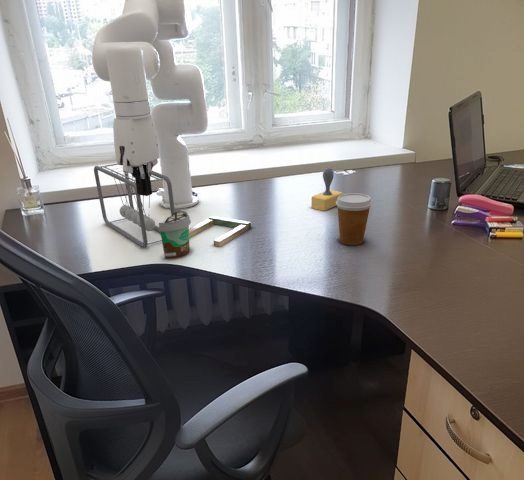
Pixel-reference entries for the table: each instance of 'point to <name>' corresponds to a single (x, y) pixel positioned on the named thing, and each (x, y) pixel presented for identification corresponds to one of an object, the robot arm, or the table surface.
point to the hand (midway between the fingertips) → (144, 194)
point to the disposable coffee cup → (353, 217)
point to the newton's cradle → (130, 212)
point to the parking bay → (237, 224)
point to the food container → (175, 234)
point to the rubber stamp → (326, 193)
